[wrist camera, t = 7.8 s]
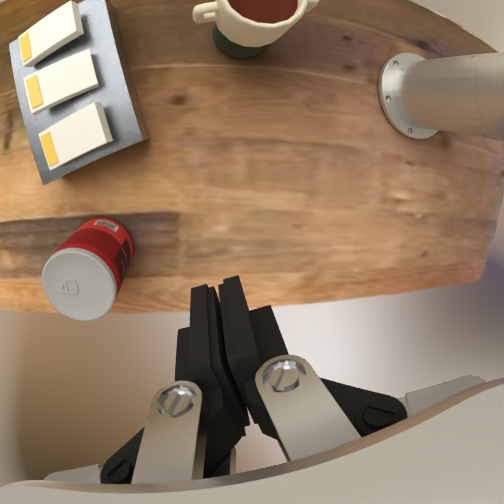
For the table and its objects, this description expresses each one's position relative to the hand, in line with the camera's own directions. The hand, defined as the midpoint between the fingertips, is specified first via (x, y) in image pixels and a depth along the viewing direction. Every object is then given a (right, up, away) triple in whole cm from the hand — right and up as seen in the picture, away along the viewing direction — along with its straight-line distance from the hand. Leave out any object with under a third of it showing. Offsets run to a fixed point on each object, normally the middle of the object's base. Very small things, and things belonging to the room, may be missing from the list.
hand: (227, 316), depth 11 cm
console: (-18, +21, +17) cm, 32 cm away
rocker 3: (-16, +13, +13) cm, 25 cm away
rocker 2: (-17, +18, +11) cm, 28 cm away
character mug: (-1, +27, +18) cm, 32 cm away
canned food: (-17, +3, +25) cm, 30 cm away
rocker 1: (-19, +24, +8) cm, 31 cm away
